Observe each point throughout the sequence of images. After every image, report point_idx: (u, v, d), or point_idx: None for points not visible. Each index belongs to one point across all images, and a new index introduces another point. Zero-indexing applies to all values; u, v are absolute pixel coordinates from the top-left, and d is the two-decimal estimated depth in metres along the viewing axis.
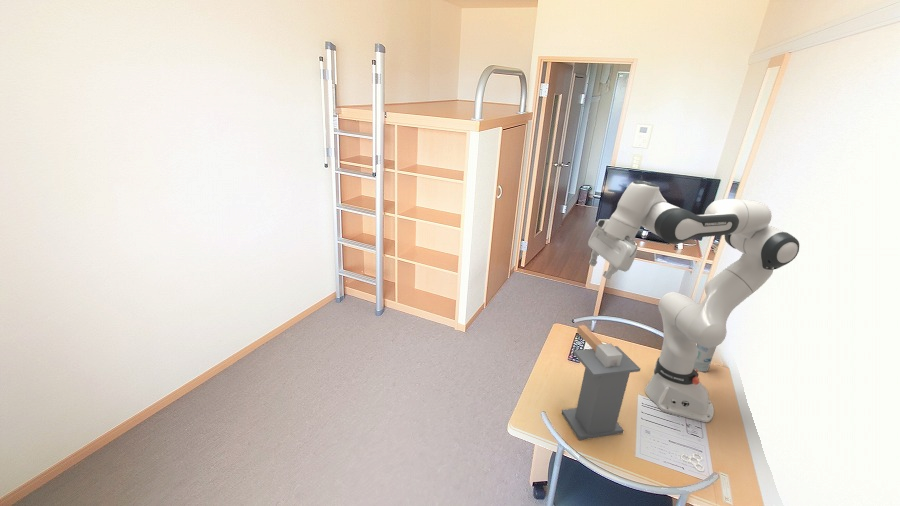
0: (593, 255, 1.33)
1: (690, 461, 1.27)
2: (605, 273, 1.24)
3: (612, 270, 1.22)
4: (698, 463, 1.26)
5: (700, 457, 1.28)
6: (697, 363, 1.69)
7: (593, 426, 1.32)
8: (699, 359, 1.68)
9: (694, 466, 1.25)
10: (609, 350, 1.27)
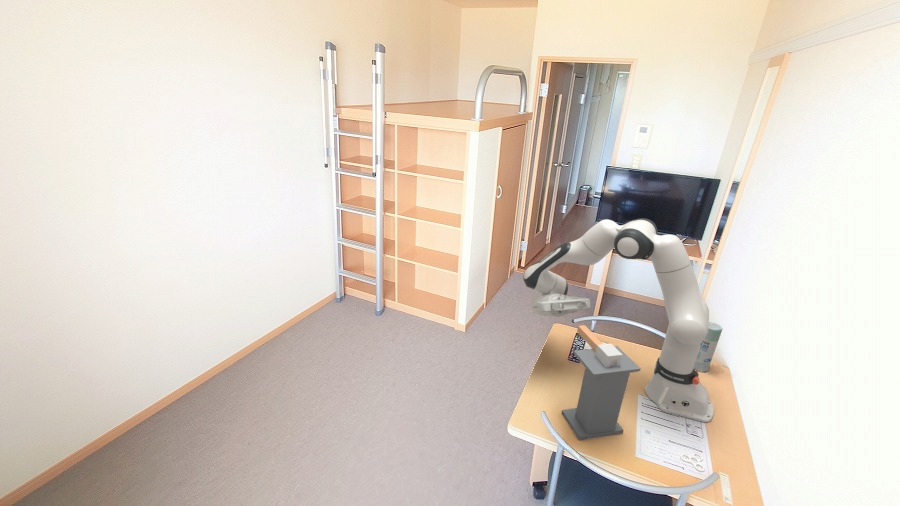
0: None
1: (690, 461, 1.27)
2: (560, 308, 1.47)
3: (553, 307, 1.49)
4: (698, 463, 1.26)
5: (700, 457, 1.28)
6: (697, 363, 1.69)
7: (593, 426, 1.32)
8: (699, 359, 1.68)
9: (694, 466, 1.25)
10: (609, 350, 1.27)
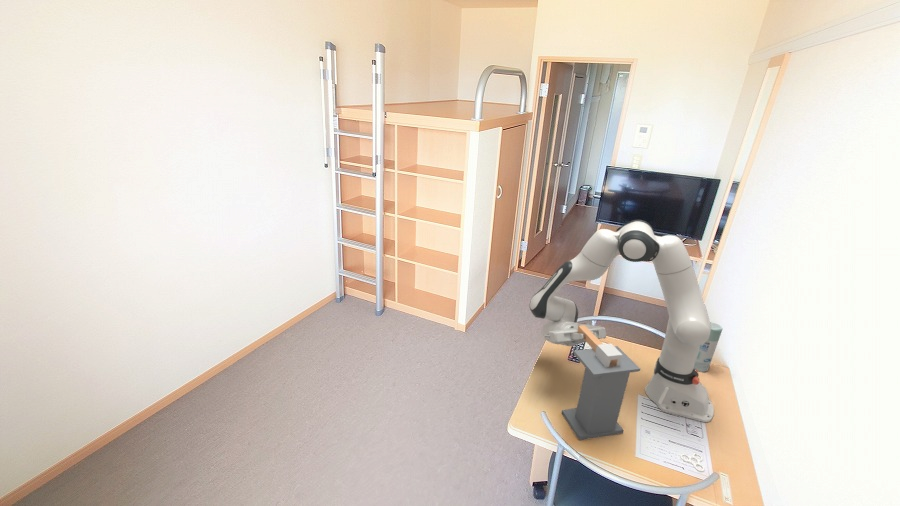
0: None
1: (690, 461, 1.27)
2: (582, 338, 1.39)
3: (574, 337, 1.41)
4: (698, 463, 1.26)
5: (700, 457, 1.28)
6: (697, 363, 1.69)
7: (593, 426, 1.32)
8: (699, 359, 1.68)
9: (694, 466, 1.25)
10: (609, 350, 1.27)
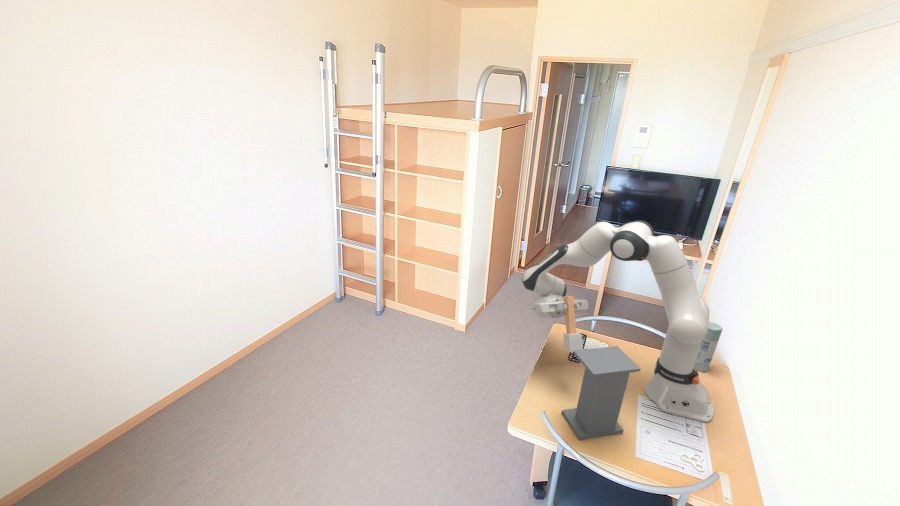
0: None
1: (690, 461, 1.27)
2: None
3: (558, 308, 1.51)
4: (698, 463, 1.26)
5: (700, 457, 1.28)
6: (697, 363, 1.69)
7: (593, 426, 1.32)
8: (699, 359, 1.68)
9: (694, 466, 1.25)
10: (575, 344, 1.47)
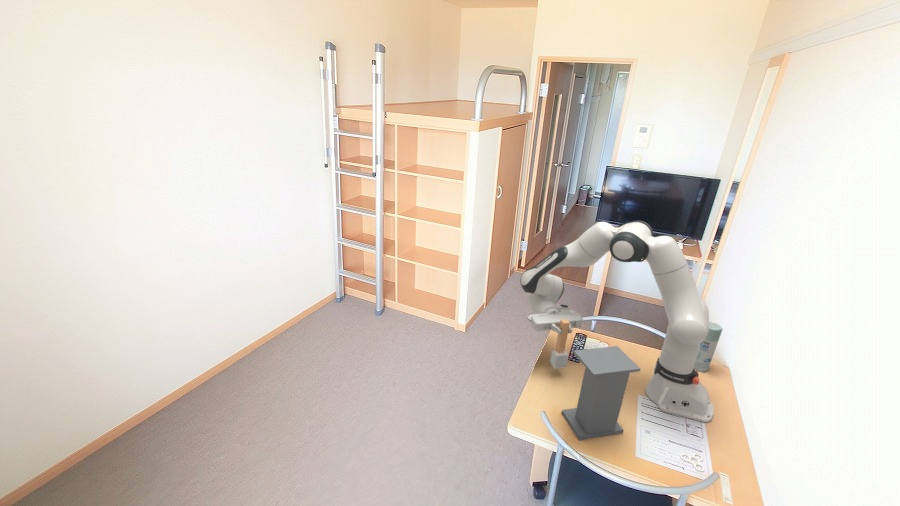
0: None
1: (690, 461, 1.27)
2: None
3: (553, 329, 1.56)
4: (698, 463, 1.26)
5: (701, 457, 1.28)
6: (697, 363, 1.69)
7: (593, 426, 1.32)
8: (699, 359, 1.68)
9: (694, 466, 1.25)
10: (560, 362, 1.58)
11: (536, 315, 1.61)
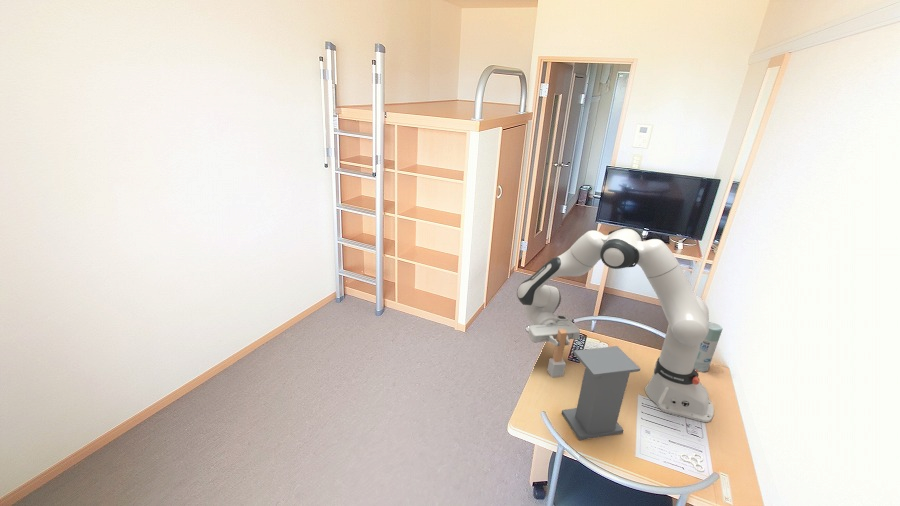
0: None
1: (690, 461, 1.27)
2: None
3: (550, 341, 1.58)
4: (698, 463, 1.26)
5: (701, 458, 1.28)
6: (697, 363, 1.69)
7: (593, 426, 1.32)
8: (699, 359, 1.68)
9: (693, 466, 1.25)
10: (557, 371, 1.60)
11: (534, 326, 1.63)
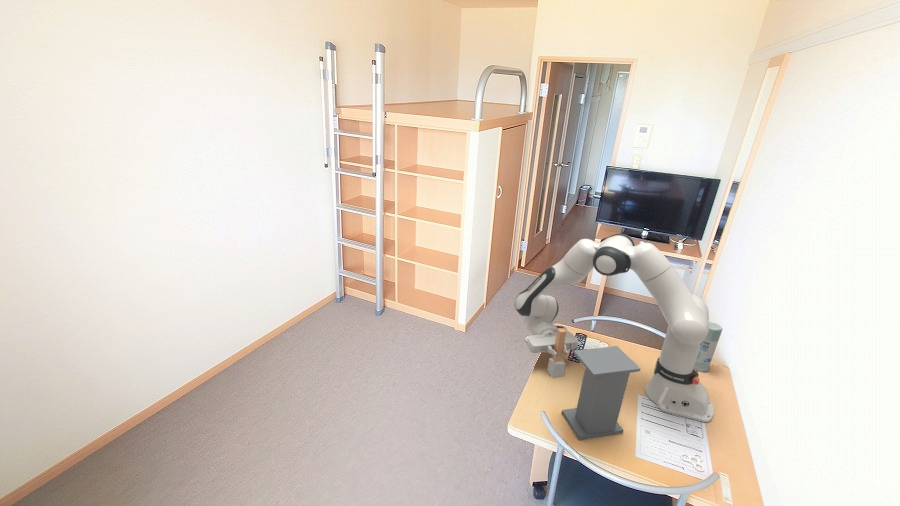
0: None
1: (690, 461, 1.27)
2: None
3: (549, 351, 1.60)
4: (698, 463, 1.26)
5: (701, 458, 1.28)
6: (697, 363, 1.69)
7: (593, 426, 1.32)
8: (699, 359, 1.68)
9: (693, 466, 1.25)
10: (557, 371, 1.60)
11: (532, 337, 1.65)
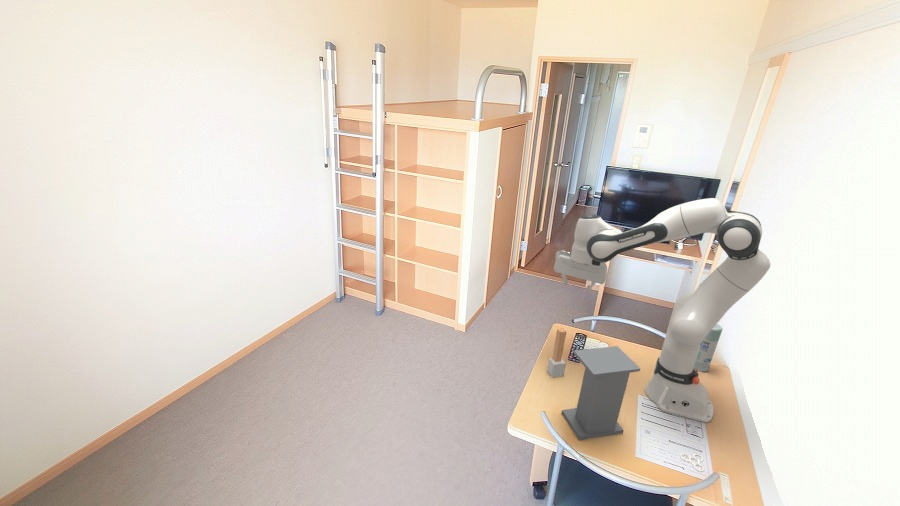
0: (592, 283, 1.62)
1: (690, 461, 1.27)
2: None
3: None
4: (698, 463, 1.26)
5: (701, 458, 1.28)
6: (697, 363, 1.69)
7: (593, 426, 1.32)
8: (699, 359, 1.68)
9: (693, 466, 1.25)
10: (557, 371, 1.60)
11: (561, 260, 1.63)
